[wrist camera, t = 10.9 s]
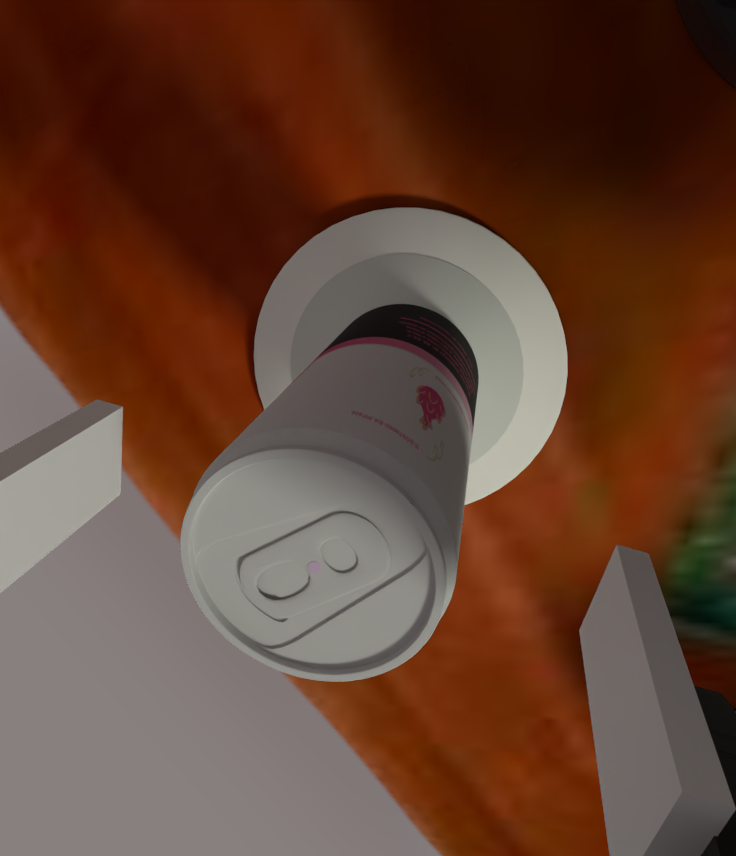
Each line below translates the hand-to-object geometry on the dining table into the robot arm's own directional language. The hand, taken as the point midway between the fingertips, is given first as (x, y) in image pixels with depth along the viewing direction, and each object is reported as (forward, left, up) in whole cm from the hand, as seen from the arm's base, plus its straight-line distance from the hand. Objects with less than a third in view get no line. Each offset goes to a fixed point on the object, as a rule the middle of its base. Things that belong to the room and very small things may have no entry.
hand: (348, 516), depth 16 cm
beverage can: (0, 0, -13) cm, 13 cm away
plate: (0, 0, -13) cm, 13 cm away
